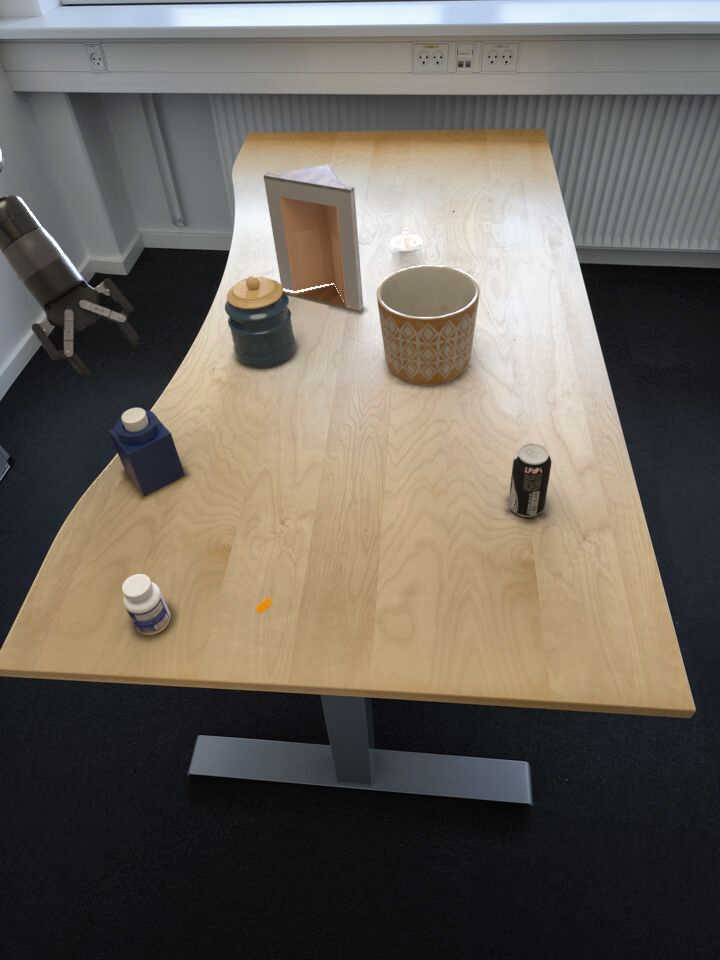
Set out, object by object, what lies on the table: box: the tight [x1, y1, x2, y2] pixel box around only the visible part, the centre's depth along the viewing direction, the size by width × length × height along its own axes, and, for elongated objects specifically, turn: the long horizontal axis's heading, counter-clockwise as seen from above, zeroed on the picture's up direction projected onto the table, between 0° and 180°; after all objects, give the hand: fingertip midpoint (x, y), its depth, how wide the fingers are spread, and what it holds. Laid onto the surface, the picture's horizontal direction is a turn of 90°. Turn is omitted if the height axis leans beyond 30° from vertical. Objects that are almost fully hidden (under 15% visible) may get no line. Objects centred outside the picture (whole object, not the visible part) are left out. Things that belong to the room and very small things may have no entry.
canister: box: [224, 275, 296, 369], centre depth 150 cm, size 13×13×18 cm
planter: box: [376, 264, 481, 386], centre depth 143 cm, size 19×19×16 cm
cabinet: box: [263, 163, 364, 314], centre depth 161 cm, size 21×10×28 cm, turn 61°
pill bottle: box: [121, 573, 171, 636], centre depth 105 cm, size 5×5×9 cm
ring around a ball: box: [389, 227, 423, 253], centre depth 182 cm, size 8×6×8 cm
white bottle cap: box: [120, 407, 149, 432], centre depth 122 cm, size 4×4×2 cm
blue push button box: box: [108, 409, 186, 497], centre depth 127 cm, size 8×8×12 cm
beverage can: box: [508, 442, 552, 518], centre depth 115 cm, size 6×6×12 cm
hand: (113, 360), depth 113 cm, fingers open, 8 cm apart
